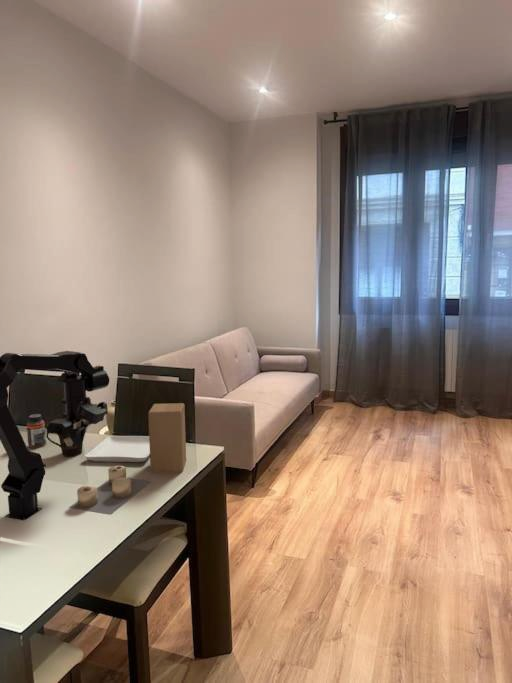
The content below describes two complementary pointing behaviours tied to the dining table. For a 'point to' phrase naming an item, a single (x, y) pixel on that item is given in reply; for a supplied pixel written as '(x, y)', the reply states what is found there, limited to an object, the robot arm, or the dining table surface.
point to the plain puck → (121, 488)
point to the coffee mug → (67, 445)
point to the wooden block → (167, 438)
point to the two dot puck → (116, 473)
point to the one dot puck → (87, 496)
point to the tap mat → (106, 497)
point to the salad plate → (121, 449)
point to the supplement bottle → (36, 431)
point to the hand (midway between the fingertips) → (78, 447)
